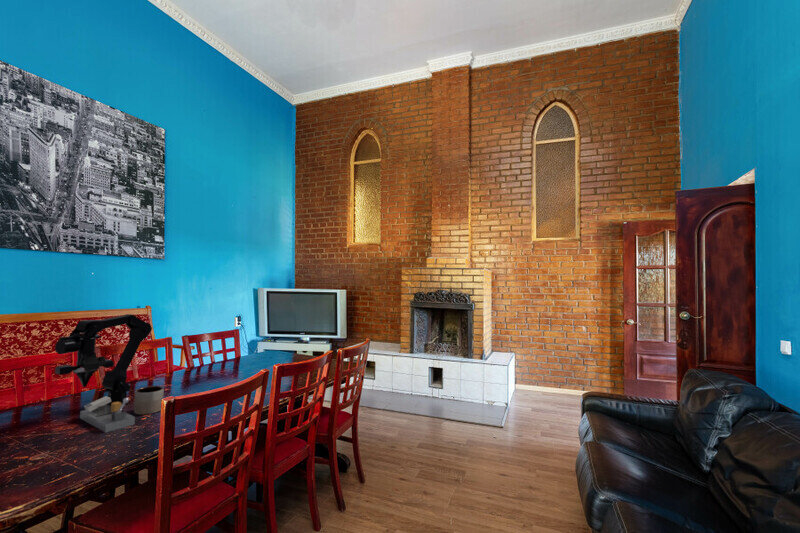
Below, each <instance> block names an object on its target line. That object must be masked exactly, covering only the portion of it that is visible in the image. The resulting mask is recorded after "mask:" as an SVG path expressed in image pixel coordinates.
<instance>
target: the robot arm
mask: <svg viewBox="0 0 800 533" xmlns="http://www.w3.org/2000/svg"><path fill="white" fill-rule="evenodd" d="M123 325H126V327H127V328H128V329H129V333H128V335H129V340H128V342H127V343H126V345H125V347H124V349H123V351H122V352H121V355H120V357H119V359H118V361H117V363H116V365H115V361H113V360H111V359H109V358H106V357H105V356H98V357H97V352H96V340H97V339H101V338H102V336H101V335H100V334H98V333H100V332H103V331H104V330H106V329H110V328H113V327H118V326H123ZM152 330H153V327H152V325H151V324H150V323H148V322H146V321H144V320H143V319H141V318H140V317H138V316H136V315H135V314H131V313H130V314H129V313H128V314H127V313H126V314H123V315H120V316H119V315H118V316H114V317H109V318H108V317H107V318H104V319H84V320H83V319H82V320H79V321H78V322H77V324H76V326H75V327H74V329H73V330H72V331H71V333H70V334H68V336H60V337H59V338H58V340H57V341H56V343H55V345H54V350H55V352H56V353H57V354H58V355H65V354H71V353H76V356H77V359H76V360H77V361H76V362H75V365H71V364H62V365H57V366H55V369H54V374H57V375H59V376H63V375H70V374H71V373H73V374H76V376H77V377H78V379H79V382H80V384H81V386H82V388H86V387H87V386H88V384H89V382H90V379H91V378H92V376H93V375H94V373H96V372H98V371H99V369H100V367H103V368H105V369H108V368H112V370H107V371H106V372H105V375H104V377H103V378H102V383H101V385H102V387H103V389H104V390H105V393H106V392H107V395H106V396H107V397H110V398H111V401H112V402H110V403H107V404H105V406H106V405H110V406H111V403H114V402H120V403H121V405H122V403H123V399H124V398H127V393H128V392H129V391H130V390H131V385H130V384H129V383H127V378H128V375H127V371H128V369H129V367H130V365H131V362H132V361H133V359H134V357H135V355H136V352H137V351H138V348H139V346H140V344H141V343H142V342H143V341H144V340H145V339H147V338H148V337H149V335H150V334H151V332H152ZM127 405H129V402H127V403H126V404H125V405H124V406H127Z"/></svg>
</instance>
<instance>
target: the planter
mask: <svg viewBox="0 0 800 533" xmlns="http://www.w3.org/2000/svg"><path fill="white" fill-rule="evenodd" d="M164 388H165V387H163V386H160V385H153V386H152V385H149V386H144V387H140V388H137V389H136V390H135V391H134V404H133V412H134V414H136V415H140V416H143V415H144V416H146V415H152V413H153V414H156V412H157V413H158V412H161V411H162V410H161V400H162V399H163V400H164V391H165V390H164Z"/></svg>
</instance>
